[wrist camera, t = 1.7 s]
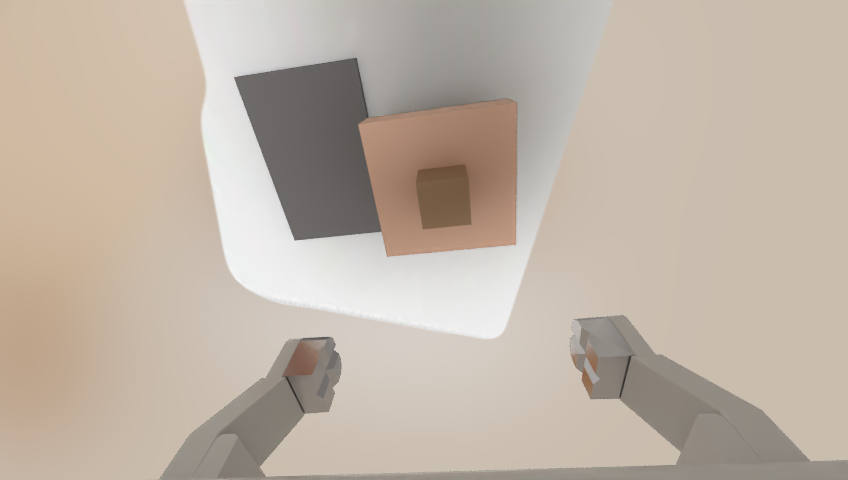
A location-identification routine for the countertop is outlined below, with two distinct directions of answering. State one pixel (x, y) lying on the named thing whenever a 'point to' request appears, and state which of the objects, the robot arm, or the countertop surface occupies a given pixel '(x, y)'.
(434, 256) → the countertop surface
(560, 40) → the countertop surface
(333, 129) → the mat
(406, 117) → the cover
